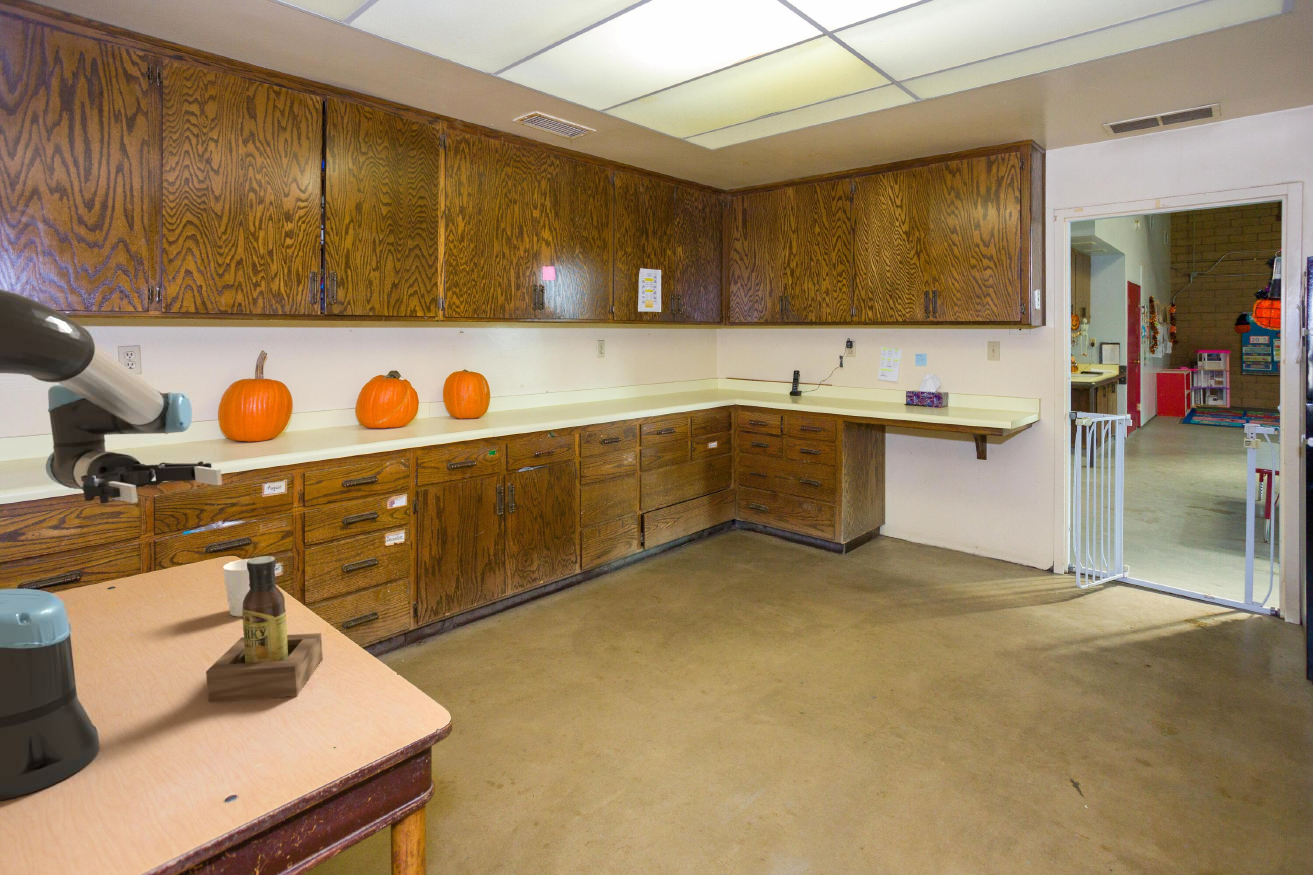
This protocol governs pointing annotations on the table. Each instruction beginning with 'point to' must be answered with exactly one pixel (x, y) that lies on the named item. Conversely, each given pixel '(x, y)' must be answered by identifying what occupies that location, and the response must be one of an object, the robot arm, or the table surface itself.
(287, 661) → the crate
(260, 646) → the sauce bottle
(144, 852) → the table surface
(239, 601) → the white cup
